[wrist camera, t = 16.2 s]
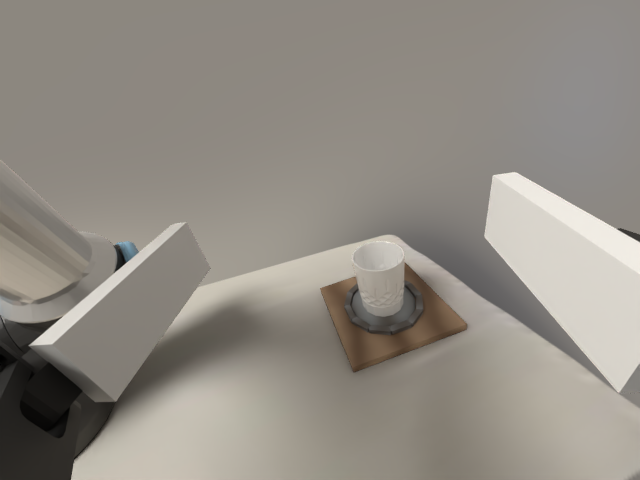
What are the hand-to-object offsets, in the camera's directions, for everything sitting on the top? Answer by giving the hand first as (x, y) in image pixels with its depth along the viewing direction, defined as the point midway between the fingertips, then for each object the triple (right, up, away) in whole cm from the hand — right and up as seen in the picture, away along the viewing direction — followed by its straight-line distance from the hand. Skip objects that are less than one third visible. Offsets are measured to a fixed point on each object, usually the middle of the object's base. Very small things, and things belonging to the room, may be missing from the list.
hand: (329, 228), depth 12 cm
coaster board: (+11, -12, +34) cm, 38 cm away
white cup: (+10, -11, +33) cm, 37 cm away
